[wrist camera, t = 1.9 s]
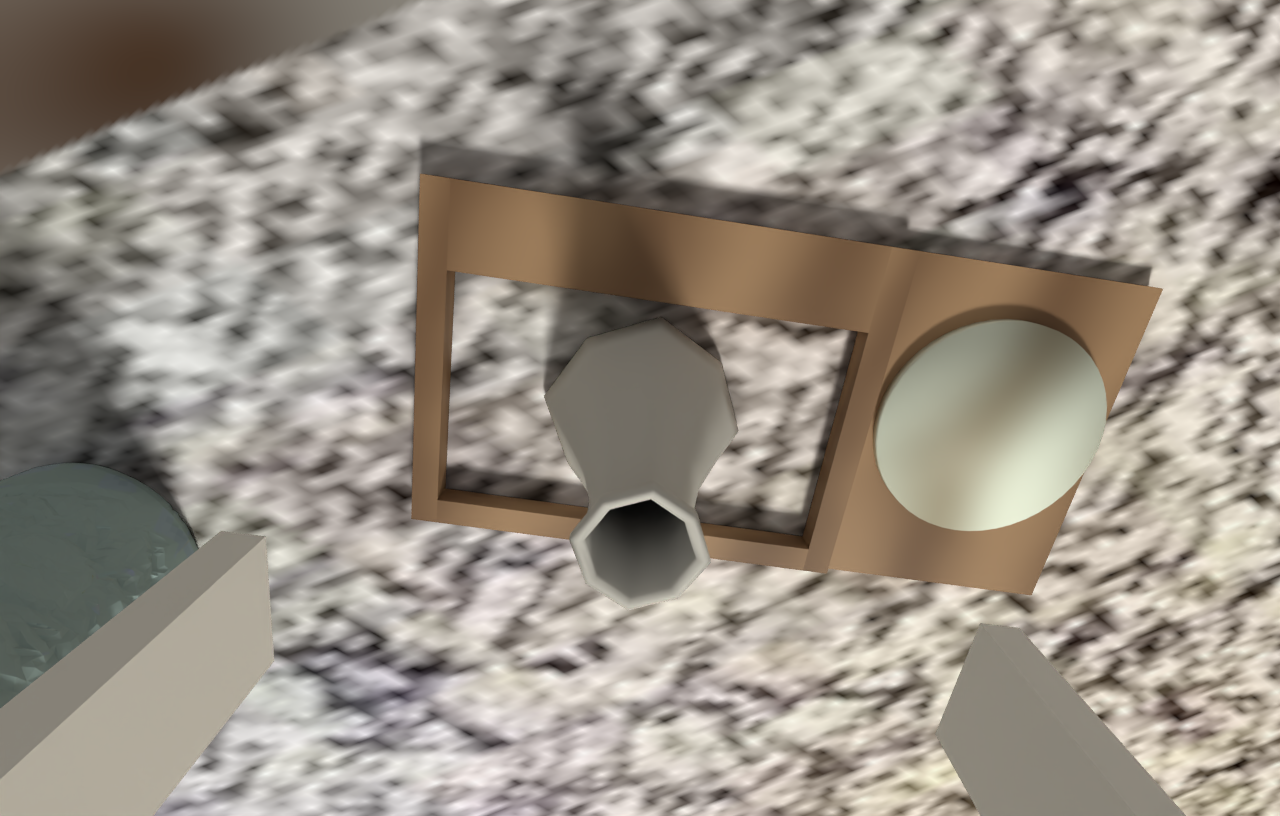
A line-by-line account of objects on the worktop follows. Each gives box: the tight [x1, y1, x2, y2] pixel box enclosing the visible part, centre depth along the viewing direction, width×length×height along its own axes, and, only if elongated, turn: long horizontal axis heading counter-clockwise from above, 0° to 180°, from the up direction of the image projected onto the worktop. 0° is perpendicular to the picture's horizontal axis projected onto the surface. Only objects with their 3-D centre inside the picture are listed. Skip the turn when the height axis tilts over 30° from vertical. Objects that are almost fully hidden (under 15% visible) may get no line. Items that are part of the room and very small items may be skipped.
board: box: [411, 174, 1163, 595], centre depth 23 cm, size 26×13×1 cm, turn 82°
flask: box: [544, 317, 738, 610], centre depth 19 cm, size 7×7×10 cm
